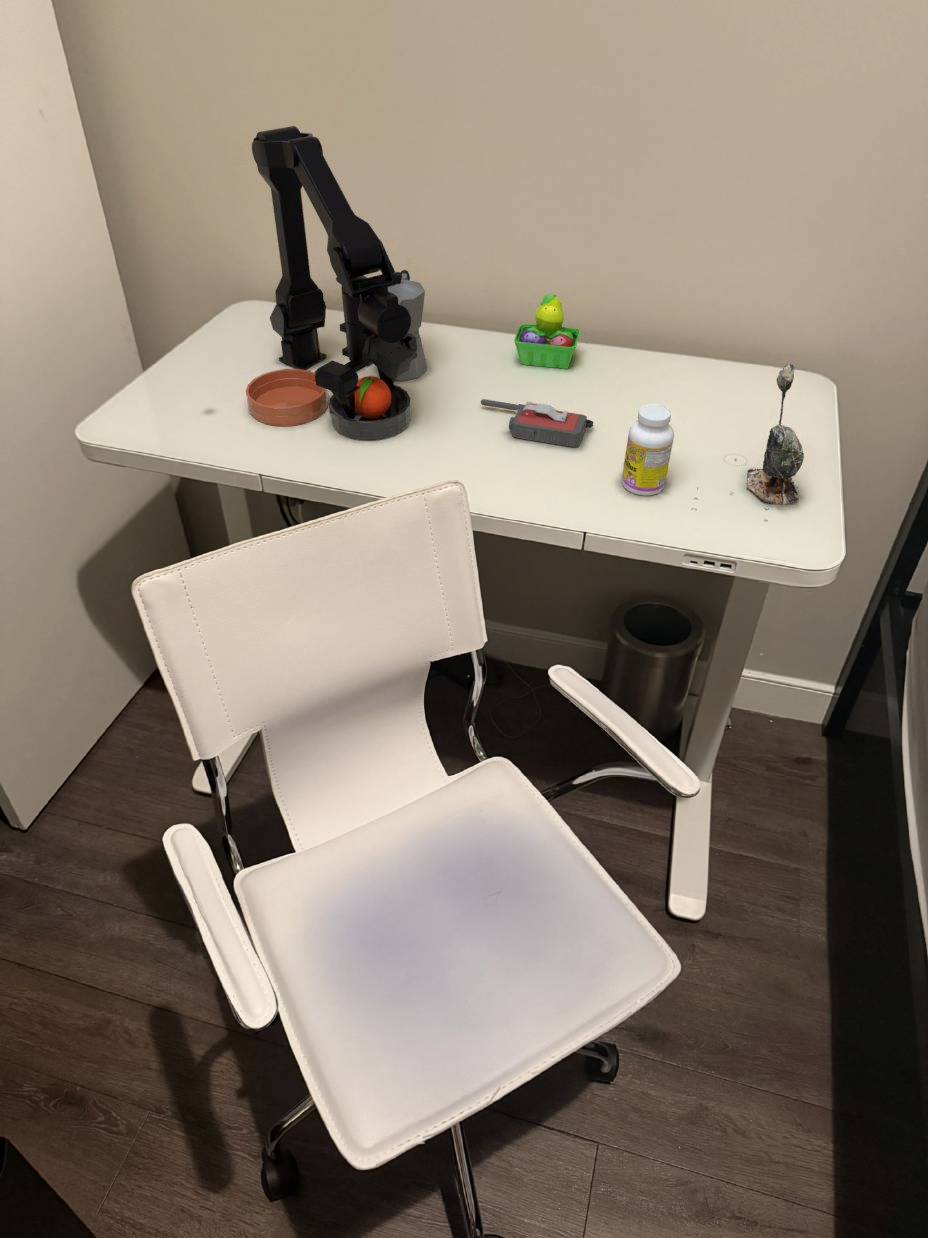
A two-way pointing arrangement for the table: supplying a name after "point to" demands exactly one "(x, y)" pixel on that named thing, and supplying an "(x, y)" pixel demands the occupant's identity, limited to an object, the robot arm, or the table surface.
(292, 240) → the robot arm
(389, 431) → the charcoal bowl
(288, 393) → the terracotta bowl
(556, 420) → the walkie-talkie
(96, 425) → the table surface
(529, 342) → the fruit basket
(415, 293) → the coffeepot
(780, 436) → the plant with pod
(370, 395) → the clementine
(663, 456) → the supplement bottle
